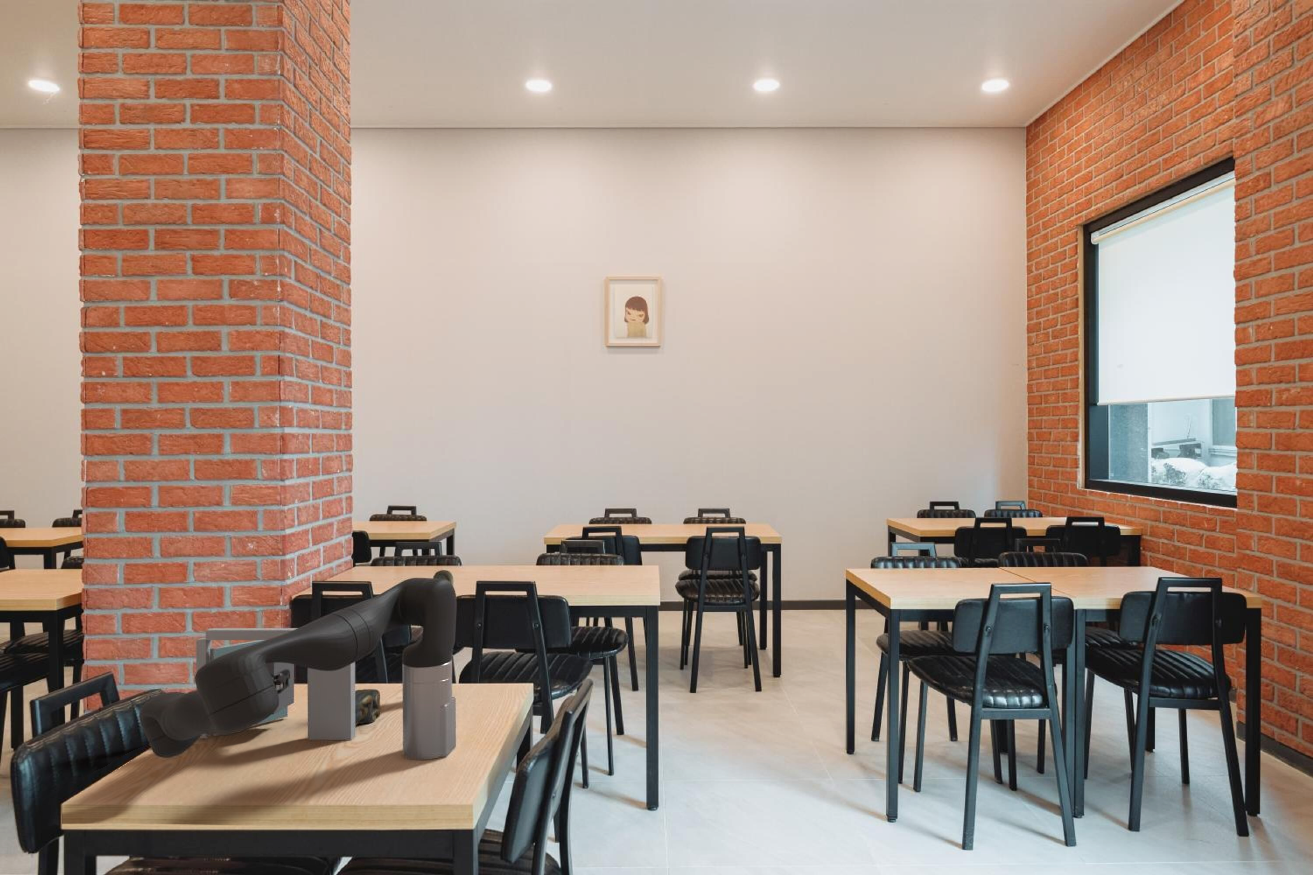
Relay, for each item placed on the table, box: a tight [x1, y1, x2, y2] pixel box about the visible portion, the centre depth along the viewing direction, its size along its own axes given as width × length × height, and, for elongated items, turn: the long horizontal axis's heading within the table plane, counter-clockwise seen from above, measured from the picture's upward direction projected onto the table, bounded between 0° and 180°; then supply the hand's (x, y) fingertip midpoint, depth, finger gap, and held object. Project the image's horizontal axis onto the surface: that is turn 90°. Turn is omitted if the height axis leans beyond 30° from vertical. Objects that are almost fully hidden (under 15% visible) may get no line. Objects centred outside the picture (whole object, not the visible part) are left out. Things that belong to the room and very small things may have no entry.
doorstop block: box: [266, 662, 295, 714], centre depth 169 cm, size 6×8×11 cm
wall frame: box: [195, 627, 356, 741], centre depth 165 cm, size 32×2×22 cm, turn 86°
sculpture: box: [355, 688, 382, 727], centre depth 172 cm, size 13×6×7 cm, turn 179°
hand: (273, 674), depth 170 cm, fingers closed on doorstop block, 5 cm apart
